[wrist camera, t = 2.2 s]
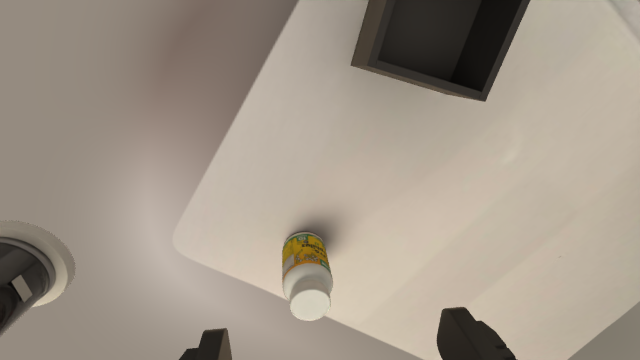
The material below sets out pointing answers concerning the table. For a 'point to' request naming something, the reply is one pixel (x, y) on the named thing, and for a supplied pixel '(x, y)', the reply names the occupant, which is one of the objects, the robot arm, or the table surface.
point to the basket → (439, 42)
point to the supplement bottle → (306, 276)
